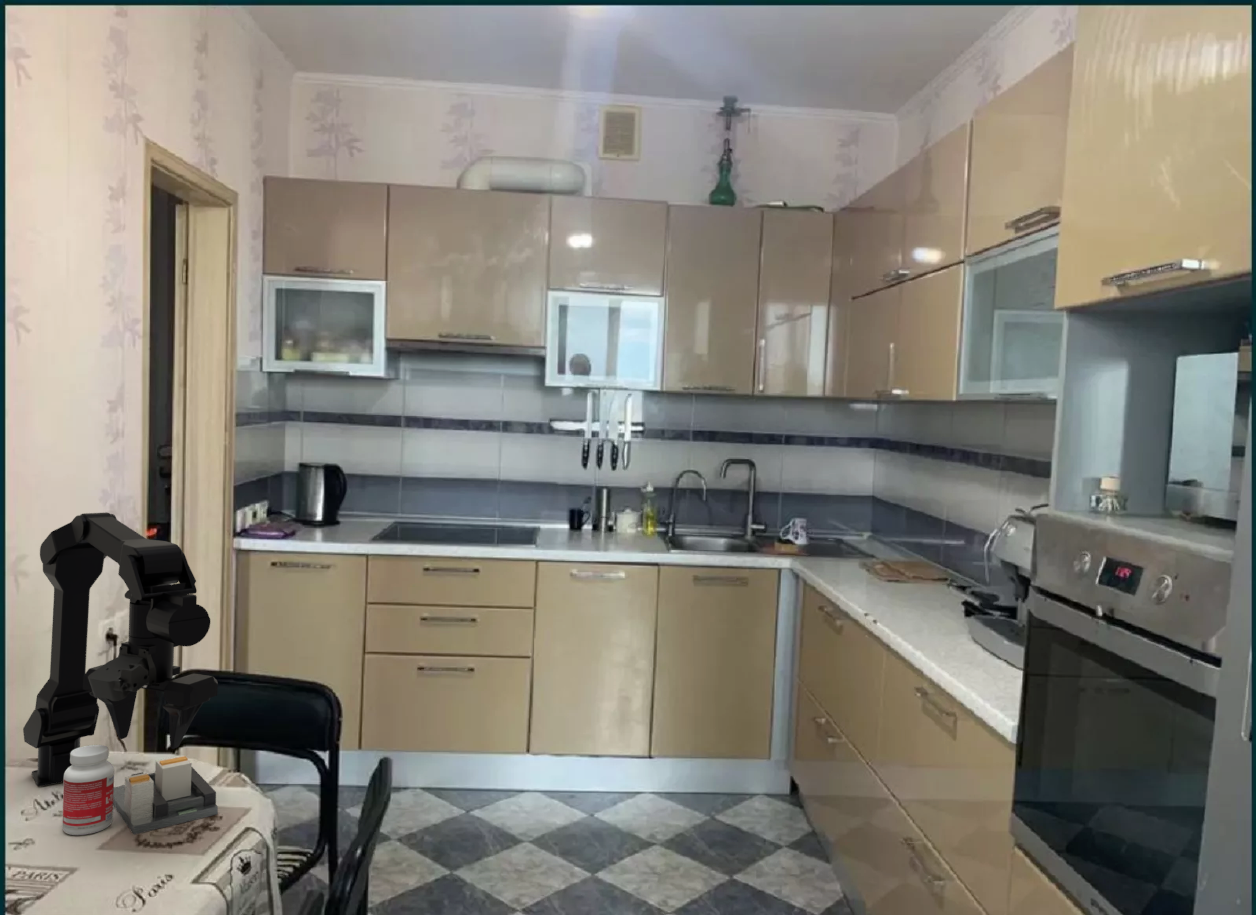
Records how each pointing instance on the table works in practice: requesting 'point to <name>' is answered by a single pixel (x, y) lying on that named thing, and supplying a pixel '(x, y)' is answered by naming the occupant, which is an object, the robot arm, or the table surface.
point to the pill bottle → (88, 791)
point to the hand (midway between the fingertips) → (148, 742)
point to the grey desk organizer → (161, 803)
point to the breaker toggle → (173, 777)
